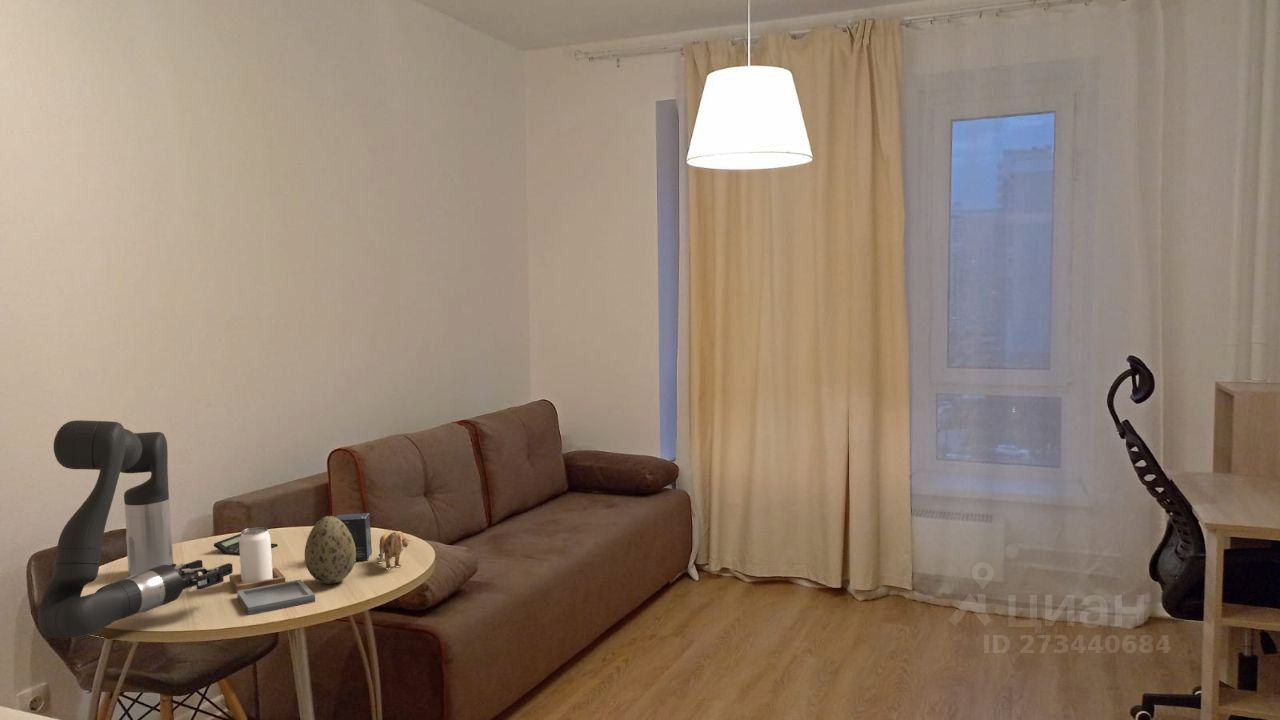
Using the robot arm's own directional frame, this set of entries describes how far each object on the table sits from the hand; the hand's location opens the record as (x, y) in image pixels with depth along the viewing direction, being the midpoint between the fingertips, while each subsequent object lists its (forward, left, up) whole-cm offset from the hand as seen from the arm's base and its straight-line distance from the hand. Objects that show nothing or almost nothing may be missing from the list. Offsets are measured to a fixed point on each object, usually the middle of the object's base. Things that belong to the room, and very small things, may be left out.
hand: (216, 566), depth 195 cm
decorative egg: (+23, -4, -7) cm, 24 cm away
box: (+32, +12, -7) cm, 35 cm away
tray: (+10, -9, -7) cm, 15 cm away
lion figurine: (+38, +1, -7) cm, 39 cm away
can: (+9, +6, -7) cm, 13 cm away
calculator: (+12, +38, -8) cm, 41 cm away
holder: (+9, +6, -7) cm, 13 cm away
